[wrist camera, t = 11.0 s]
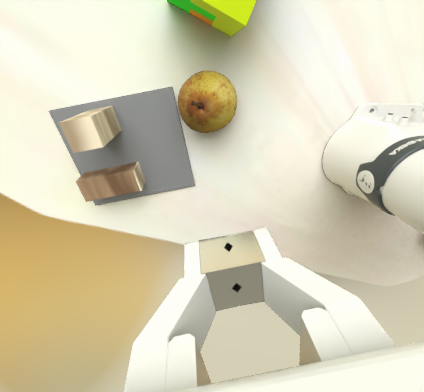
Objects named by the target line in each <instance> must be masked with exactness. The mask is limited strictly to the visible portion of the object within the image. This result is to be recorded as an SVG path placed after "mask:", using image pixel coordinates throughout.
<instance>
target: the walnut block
mask: <svg viewBox="0 0 424 392" xmlns="http://www.w3.org/2000/svg"><path fill="white" fill-rule="evenodd" d="M76 183H77V185H78V187H79V189H80V191H81V193H82V195H83V196H84V198H85V200H86V202H87V201H92V200H97V199H102V198H107V197H112V196H117V195H122V194H127V193H133V192H138V191H142V189H143V186H144V184H145V179H144V176H143V173H142V170H141V167H140V164H139V162H135V163H129V164H124V165H119V166H114V167H109V168H104V169H99V170H94V171H89V172H85V173H84V174H83V175H82V176H81V177H80V178H79V179H78V180H77V181H76Z"/></svg>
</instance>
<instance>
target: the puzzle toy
mask: <svg viewBox="0 0 424 392" xmlns="http://www.w3.org/2000/svg"><path fill="white" fill-rule="evenodd" d="M167 1H168V2H170V3H171V4H173V5H175V6H177V7H179V8H180V9H182V10H184V11H186V12H188V13H189V14H191V15H193V16H195V17H196V18H198V19H200V20H202V21H204V22H205V23H207V24H209V25H211V26H213V27H214V28H216V29H218V30H220V31H222V32H223V33H225V34H227V35H229V36H230V37H232V36H233V35H234V34H236V33H237V32H238V31H240V30H241V29H243V28H244V27H245V26H246V25H247V22H248V20H249V18H250V15H251V13H252V10H253V8H254V5H255V3H256V1H257V0H167Z"/></svg>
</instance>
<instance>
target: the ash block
mask: <svg viewBox="0 0 424 392" xmlns="http://www.w3.org/2000/svg"><path fill="white" fill-rule="evenodd" d="M59 124H60V126H61V128H62V130H63V132H64V134H65V136H66V138H67V140H68V142H69V144H70V147H71V149H72V151H73V153H77V152H82V151H87V150H92V149H97V148H102V147H104V146H105V145H106V144H107V143H108V142H109V141H111V140H112V139H113V138H114V137H115V136H116V135H117V134H118V133H119V132H120V131H121V127H120V124H119V121H118V118H117V116H116V113H115V110H114V107H113V106H108V107H102V108H97V109H92V110H88V111H86V112H83V113H81V114H78V115H76V116H73V117H71V118H69V119H66V120H64V121H61V122H59Z"/></svg>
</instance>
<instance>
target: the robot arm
mask: <svg viewBox="0 0 424 392" xmlns="http://www.w3.org/2000/svg"><path fill="white" fill-rule="evenodd" d="M371 109H372V110H371ZM370 110H371V112H370ZM322 165H323V170H324V173H325V175H326V176H327V178H328V179H329V180H330V181H332V182H333V183H335V184H338V185H340V186H342V187H343V189H344V190H345V192H346V193H348V194H350V195H357V196H359V197H360V198H362V199H364V200H366V201H368V202H370V203H371V204H373V205H376V206H377V208H379V209H380V210H382V211H385V212H386V213H388V214H391V215H394V216H397V217H398V218H400V219H401V220H403V221H404V222H406V223H407V224H408V225H410V226H411V227H413V228H414V229H416V230H417V231H419V232H420V233H421V234H423V235H424V104H417V103H363V104H361V105H360V106H359V107H358V108H357V109H356V111H355V112H354V114H353V115H352V117H351V118H350V119H349V120H348V121H347V122H346V123H345V124H344V125H343V126H341V127H340V128H339V129H338V130H337V131H336V132H335V133H334V134H333V136H332V137H331V139H330V140H329V142H328V143H327V145H326V148H325V150H324V154H323V159H322ZM264 301H265V303H266V304H267V305H268V306H269V307H270V308H271V309H272V310H273V311H274V312H275V313H276V314H277V315H279V317H281V318H282V319H283V320H284V321H285V322H286V323H287V324H288V325H289V326H290V327H291V328H292V329H293V330H294V331H295V332H296V333H297V334H299V335H300V362H299V365H300V366H296V367H291V368H287V369H281V370H276V371H272V372H266V373H262V374H257V375H252V376H247V377H242V378H237V379H232V380H227V381H222V382H217V383H212V384H211V381H210V378H209V375H208V373H207V370H206V367H205V364H204V361H203V359H202V356H201V353H200V351H201V349H202V346H203V344H204V341H205V339H206V336H207V334H208V331H209V329H210V326H211V324H212V321H213V319H214V316H215V314H216V311H219V310H223V309H227V308H231V307H236V306H241V305H247V304H252V303H258V302H264ZM124 392H424V341H420V342H415V343H410V344H405V345H400V346H396V345H395V344H394V343H393V341H392V340H391V339H390V337H389V336H388V335H387V333H386V332H385V331H384V329H383V328H382V327H381V326H380V324H379V323H378V322H377V321H376V319H375V318H374V316H373V315H372V314H371V312H370V311H369V310H368V308H367V307H366V306H365V305H364V303H363V302H362V301H361V299H360V298H359V297H357V296H355V295H353V294H351V293H350V292H348V291H346V290H344V289H342V288H341V287H339V286H337V285H335V284H333V283H332V282H330V281H328V280H326V279H324V278H323V277H321V276H319V275H318V274H316V273H314V272H312V271H310V270H309V269H307V268H305V267H303V266H302V265H300V264H298V263H296V262H294V261H293V260H291V259H289V258H287V257H286V258H282V256H281V254H280V252H279V250H278V248H277V246H276V244H275V242H274V240H273V239H272V237H271V235H270V233H269V231H268V229H267V228H266V227H263V228H259V229H255V230H252V231H247V232H242V233H237V234H232V235H227V236H221V237H216V238H210V239H204V240H199V241H194V242H189V243H185V246H184V278H182V279H179V281H178V282H177V284H176V285H175V286H174V288H173V289H172V290H171V292H170V293H169V294H168V296H167V297H166V299H165V300H164V301H163V303H162V304H161V306H160V307H159V308H158V310H157V311H156V312H155V314H154V315H153V317H152V318H151V320H150V321H149V322H148V324H147V325H146V326H145V328H144V329H143V331H142V332H141V333H140V335H139V336H138V338H137V339H136V340H135V342H134V343H133V347H132V353H131V358H130V363H129V368H128V373H127V378H126V383H125V388H124Z"/></svg>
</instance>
